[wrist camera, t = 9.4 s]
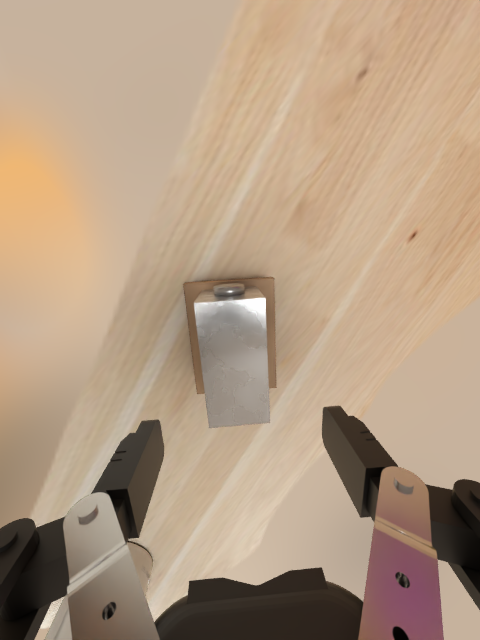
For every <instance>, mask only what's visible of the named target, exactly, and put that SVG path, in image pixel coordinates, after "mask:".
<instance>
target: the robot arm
mask: <svg viewBox="0 0 480 640" xmlns="http://www.w3.org/2000/svg"><path fill="white" fill-rule="evenodd" d="M322 438H323V443H324V446H325V448H326V450H327V452H328V454H329V456H330V458H331V460H332V462H333V464H334V466H335V468H336V470H337V472H338V474H339V476H340V478H341V480H342V482H343V484H344V486H345V488H346V490H347V492H348V494H349V496H350V497H351V500H352V501H353V504H354V506H355V507H356V509H357V511H358V513H359V515H360V517H371V518H372V520H373V521H374V529H373V536H372V544H371V551H370V558H369V565H368V573H367V580H366V587H365V594H364V601H361V600H360V599H359V598H358V597H357V596H355V595H354V594H352V593H351V592H350V591H348V590H346V589H344V588H343V587H341V586H339V585H336V584H334V583H331V582H328V581H326V580H325V577H324V573H323V570H322V568H311V569H303V570H292V571H288V572H286V573H284V574H282V575H280V576H278V577H276V578H273V579H271V580H269V581H267V582H265V583H263V584H261V585H257V586H255V585H250V584H246V583H242V582H238V581H234V580H230V579H226V578H214V579H204V580H194V581H189V589H188V595H187V596H185V597H183V598H181V599H180V600H178V601H177V602H175V603H174V604H172V605H171V606H170V607H169V608H168V609H166V610H165V611H164V612H163V613H162V614H161V615H160V616H159V617H158V619H157V620H156V621H155V622H154V621H153V618H152V615H151V612H150V609H149V606H148V603H147V600H146V597H145V596H146V592H147V588H148V585H149V581H150V575H151V570H152V566H153V561H152V558H151V556H150V554H149V553H148V552H147V551H146V550H145V549H144V548H142V547H140V546H138V545H136V544H133V543H128V542H127V541H128V539H130V538H139V535H140V532H141V529H142V526H143V522H144V519H145V516H146V513H147V510H148V506H149V503H150V500H151V497H152V494H153V490H154V487H155V484H156V481H157V478H158V474H159V471H160V468H161V465H162V462H163V457H164V443H163V437H162V431H161V425H160V421H159V420H147V421H142V422H141V423H140V425H139V427H138V429H137V431H136V433H130V434H129V435H128V436H127V437H125V438H124V439H123V440H122V441H121V442H120V444H119V446H118V448H117V449H116V451H115V454H114V455H113V456H112V458H111V461H110V462H109V463H108V465H107V467H106V469H105V470H104V472H103V474H102V476H101V478H100V479H99V481H98V483H97V485H96V486H95V488H94V490H93V492H92V493H91V494H90V495H88V496H86V497H84V498H83V499H81V500H80V501H78V502H77V503H76V504H75V505H74V506H73V507H72V508H71V509H70V510H69V512H68V513H67V515H66V516H65V517H63V518H61V519H58V520H55V521H53V522H50V523H48V524H45V525H42V526H40V527H37V528H36V525H35V523H34V521H33V520H32V519H28V518H23V519H19V520H16V521H13V522H11V523H9V524H7V525H5V526H4V527H2V528H1V529H0V640H34V639H35V637H36V635H37V633H38V630H39V628H40V626H41V624H42V622H43V620H44V617H45V615H46V613H47V611H48V609H49V607H50V604H51V602H53V601H55V600H58V599H60V598H62V597H64V596H65V597H64V599H63V601H62V603H61V605H60V608H59V610H58V612H57V614H56V616H55V618H54V620H53V622H52V625H51V627H50V629H49V631H48V633H47V635H46V637H45V639H44V640H444V637H443V625H442V612H441V599H440V586H439V574H438V561H437V559H438V560H443V561H446V562H448V563H449V565H450V566H451V568H452V569H453V571H454V572H455V574H456V575H457V577H458V578H459V580H460V581H461V583H462V584H463V586H464V587H465V589H466V590H467V592H468V593H469V595H470V596H471V598H472V599H473V601H474V602H475V604H476V605H477V607H478V608H479V610H480V483H478V482H476V481H472V480H465V479H462V480H458V481H456V482H455V484H454V487H453V490H450V489H445V488H440V487H435V486H430V485H426V484H425V483H424V482H423V481H422V480H421V479H420V478H419V477H418V476H416V475H415V474H414V473H412V472H410V471H408V470H406V469H404V468H401V467H398V465H397V464H396V463H395V462H394V460H392V458H391V457H390V455H389V454H388V453H387V452H386V451H385V449H384V448H383V447H382V446H381V444H380V443H379V442H378V441H377V440H376V438H375V437H374V436H373V434H372V433H370V431H369V429H368V428H367V427H366V426H365V424H364V423H363V422H361V421H360V420H358V419H357V418H356V417H354V416H348V415H347V414H346V413H345V411H344V410H343V409H342V407H341V406H330V407H324V408H323V421H322Z"/></svg>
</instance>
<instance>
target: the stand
mask: <svg viewBox="0 0 480 640" xmlns="http://www.w3.org/2000/svg"><path fill="white" fill-rule="evenodd" d="M231 283H240V284H244V287H250V286H256V287H257V288H258V289H259V290H260V292H261V293H262V294H263V296H264V297H265V303H266V329H267V355H268V380H269V388H276V347H275V297H274V278H273V277H264V278H249V279H234V280H219V281H204V282H188V283H185V284H183V286H184V294H185V301H186V309H187V317H188V325H189V333H190V341H191V349H192V357H193V365H194V373H195V381H196V389H197V394H204V393H205V391H204V382H203V374H202V366H201V358H200V350H199V342H198V334H197V326H196V318H195V310H194V302H195V300H196V299H197V297H198V296H199V294H200V293H201V291H202V290H210V289H213V287H214V286H216V285H221V284H231Z"/></svg>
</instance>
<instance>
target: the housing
mask: <svg viewBox="0 0 480 640" xmlns="http://www.w3.org/2000/svg"><path fill="white" fill-rule="evenodd" d="M194 310H195V318H196V326H197V334H198V342H199V350H200V358H201V366H202V374H203V382H204V391H205V399H206V407H207V415H208V423H209V428H216V427H228V426H239V425H250V424H261V423H270V406H269V380H268V355H267V329H266V303H265V297H264V296H263V294H262V293H261V292H260V290H259V289H258V288H257V287H256V286H250V287H244V284H240V283H231V284H221V285H216V286H214V287H213V289H210V290H202V291H201V293H200V294H199V296H198V297H197V299H196V300H195V302H194Z"/></svg>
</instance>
